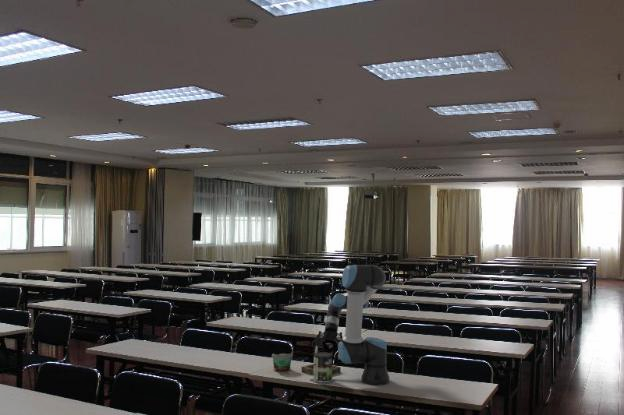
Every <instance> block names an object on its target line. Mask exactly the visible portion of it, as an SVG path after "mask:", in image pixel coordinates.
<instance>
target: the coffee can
mask: <svg viewBox="0 0 624 415" xmlns="http://www.w3.org/2000/svg"><path fill="white" fill-rule="evenodd" d="M313 364H314V375H313V378H312V379H313V380H314V381H316V382H315V383H317V382H321V383H326V382H331V381H332V380H333V375H332V365H333V353H330V352H323V351H321V352H319V351H317V353H315V352H314V353H313ZM321 383H320V384H321Z"/></svg>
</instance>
